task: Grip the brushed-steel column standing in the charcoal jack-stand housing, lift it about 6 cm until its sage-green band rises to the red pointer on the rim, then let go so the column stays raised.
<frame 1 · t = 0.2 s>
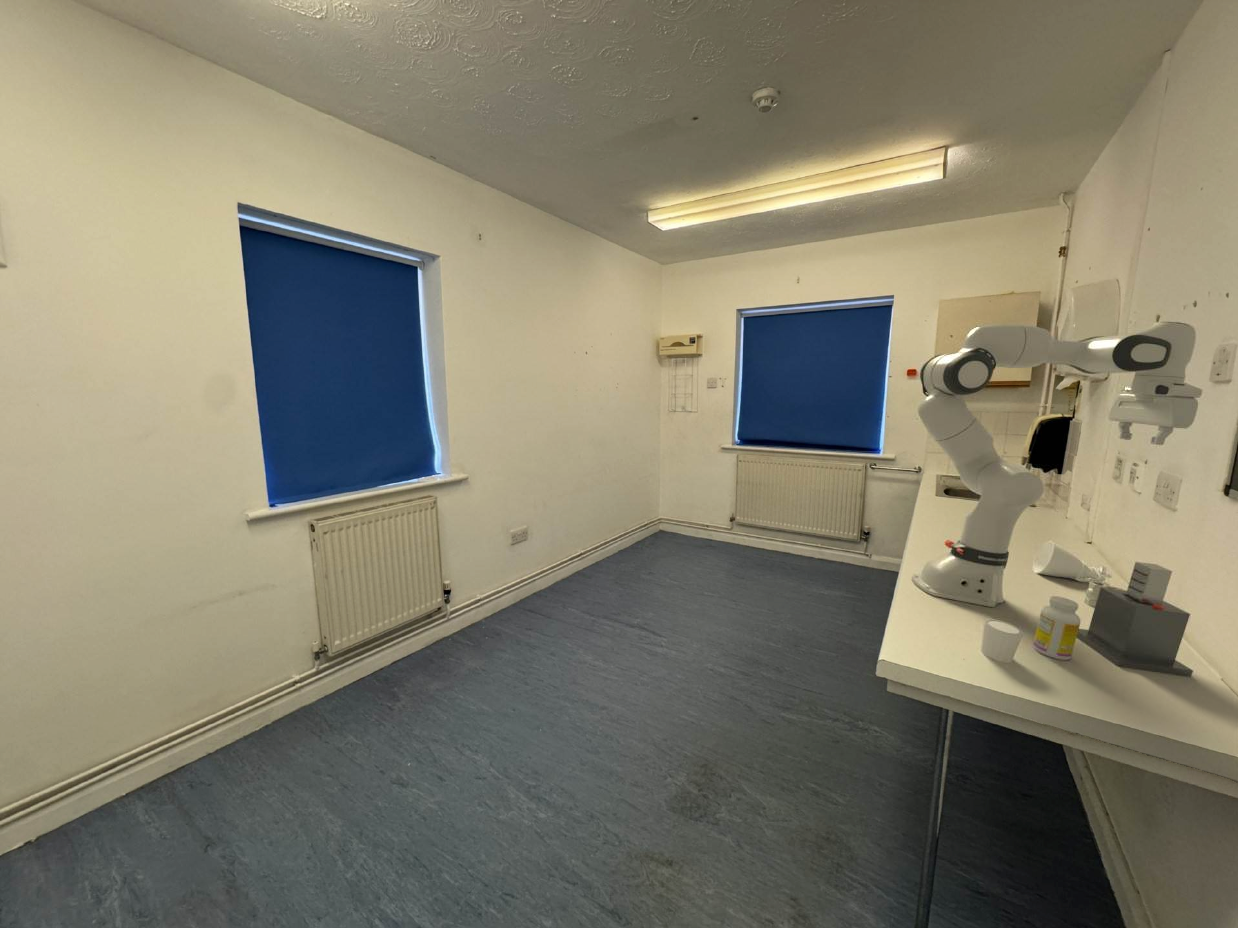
hand: (1140, 441, 126), 47 cm above the counter, fingers open, 8 cm apart
stand housing: (1126, 653, 112), on the counter
column: (1140, 607, 110), point 12 cm above the counter, slide at 0.0 cm
rocket engine: (1070, 581, 156), on the counter
supplement bottle: (1050, 653, 110), on the counter
valve: (1111, 611, 135), on the counter
white cup: (996, 655, 108), on the counter
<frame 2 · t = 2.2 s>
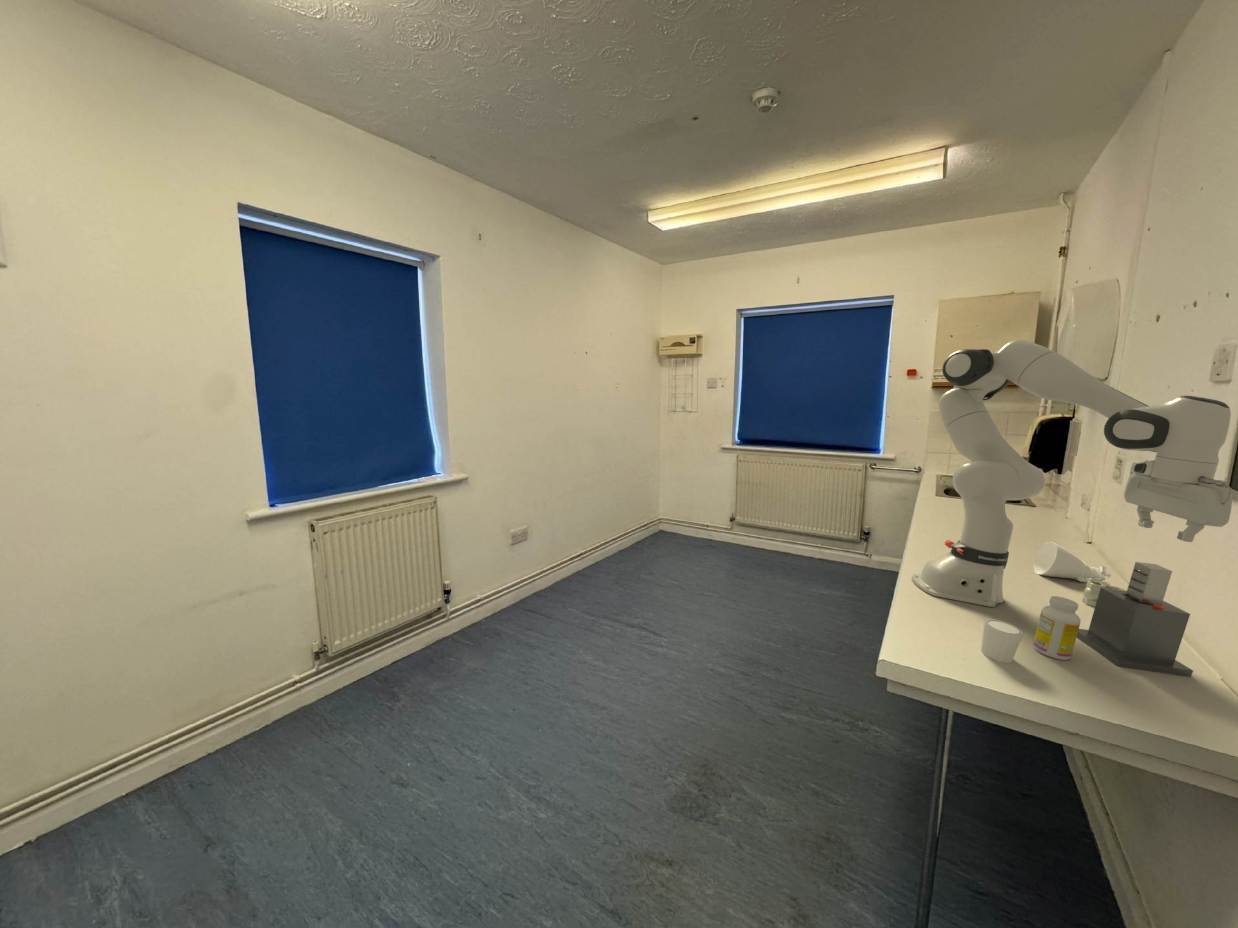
hand: (1163, 533, 107), 29 cm above the counter, fingers open, 8 cm apart
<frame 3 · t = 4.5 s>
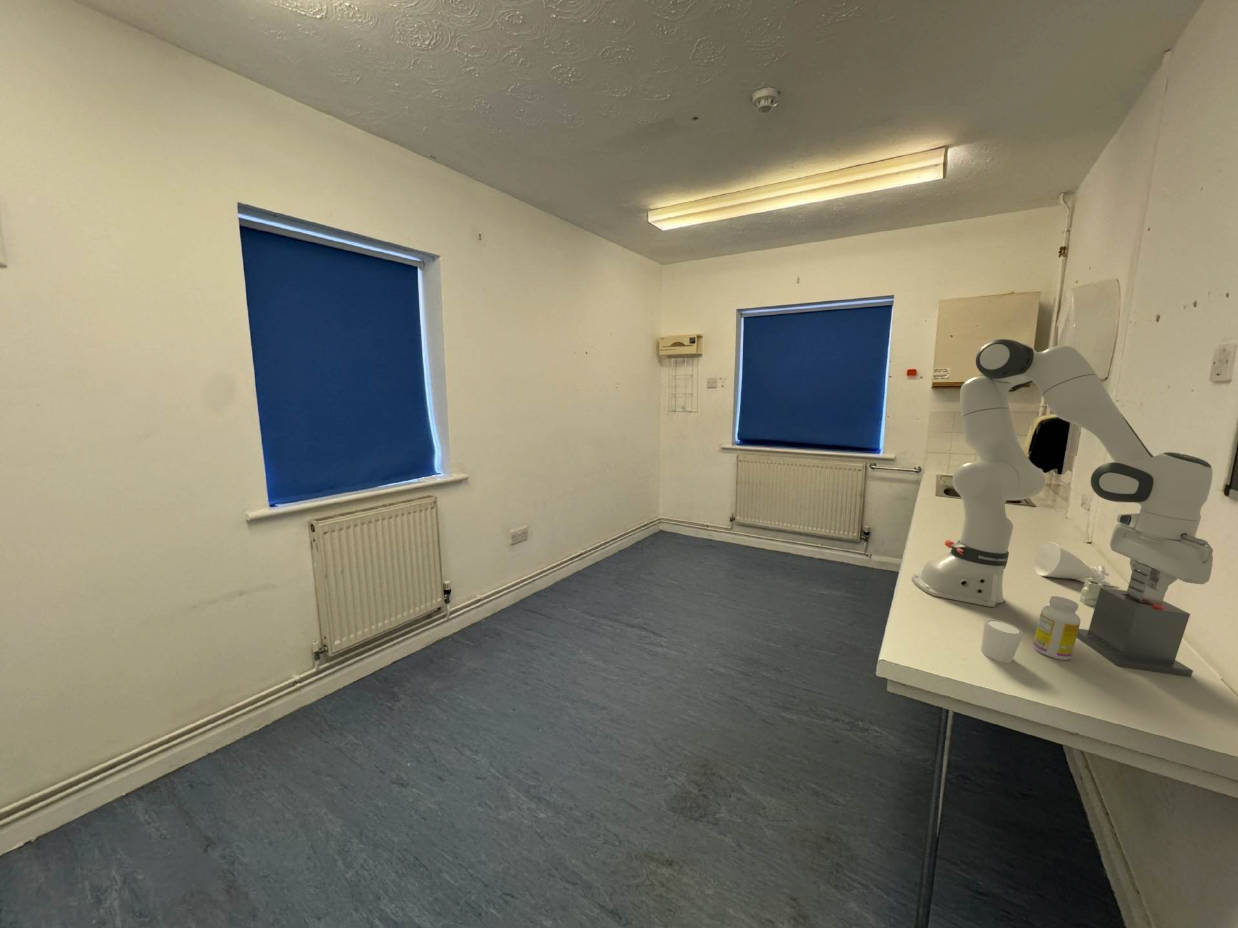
hand: (1147, 585, 109), 17 cm above the counter, fingers closed on column, 4 cm apart
column: (1140, 607, 110), point 12 cm above the counter, slide at 0.0 cm, touching gripper
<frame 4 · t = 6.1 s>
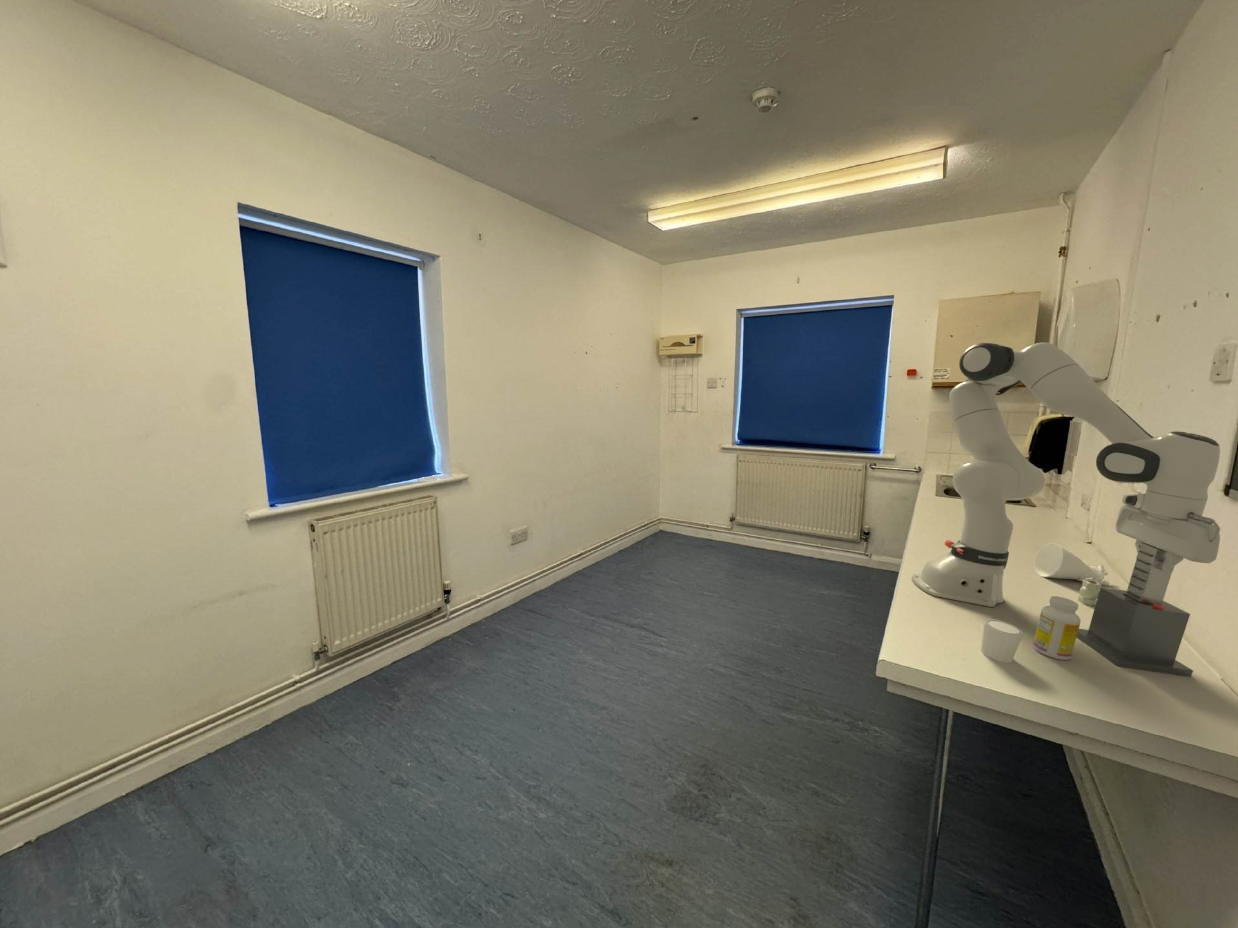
hand: (1153, 566, 108), 22 cm above the counter, fingers closed on column, 4 cm apart
column: (1146, 588, 109), point 16 cm above the counter, slide at 4.6 cm, touching gripper
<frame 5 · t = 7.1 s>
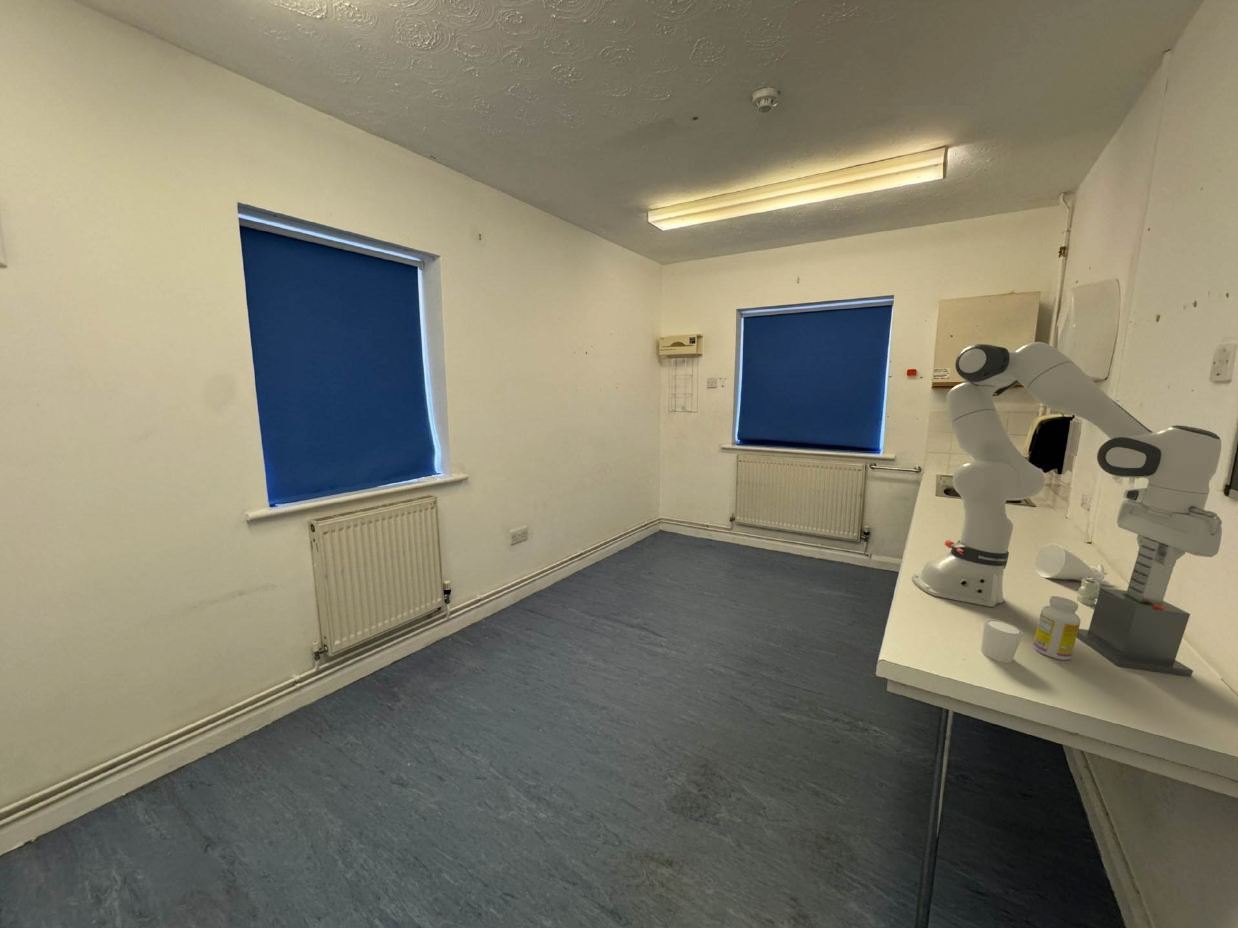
hand: (1155, 560, 108), 23 cm above the counter, fingers closed on column, 4 cm apart
column: (1147, 583, 109), point 18 cm above the counter, slide at 5.9 cm, touching gripper
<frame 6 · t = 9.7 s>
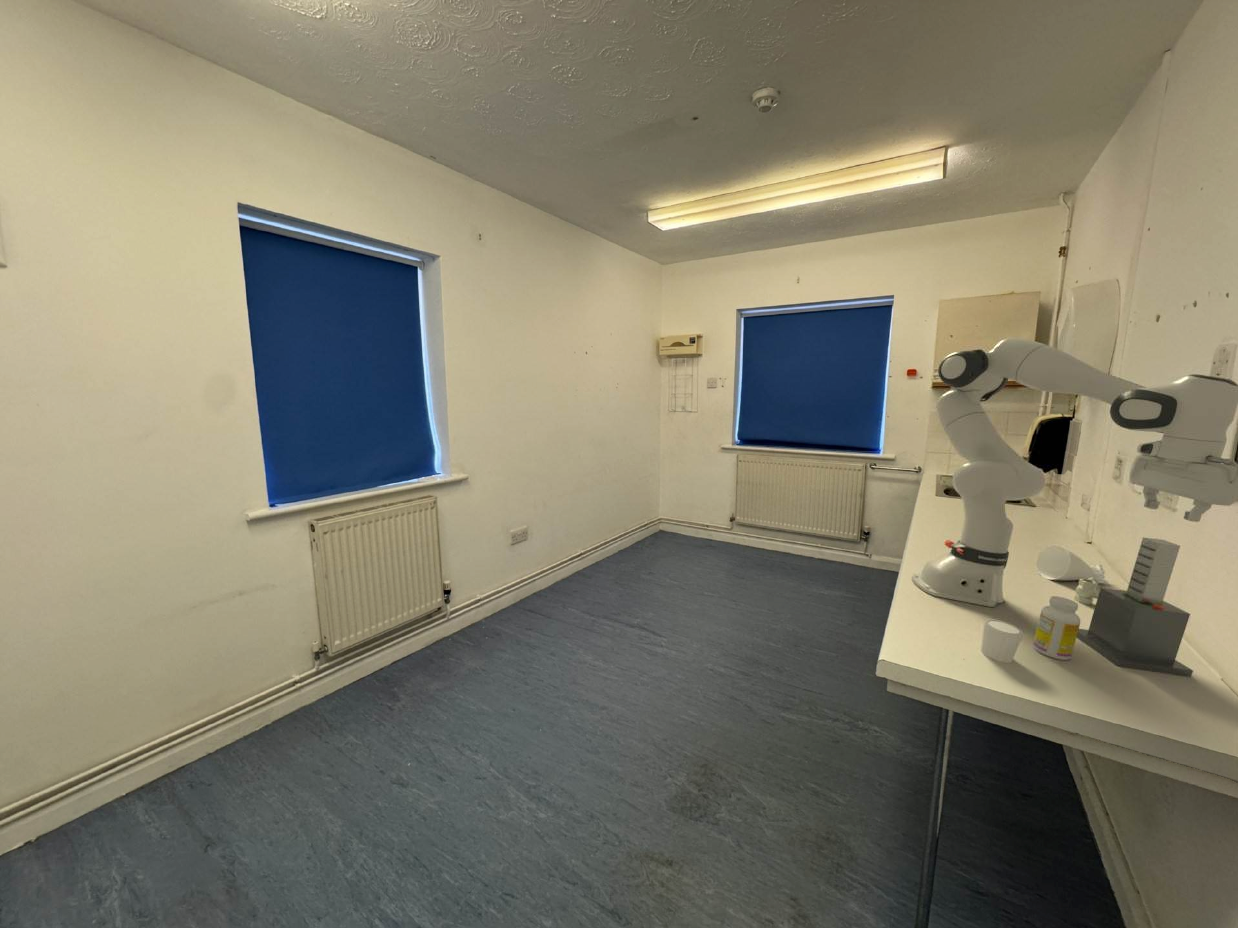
hand: (1169, 514, 106), 34 cm above the counter, fingers open, 8 cm apart
column: (1147, 583, 109), point 18 cm above the counter, slide at 5.9 cm
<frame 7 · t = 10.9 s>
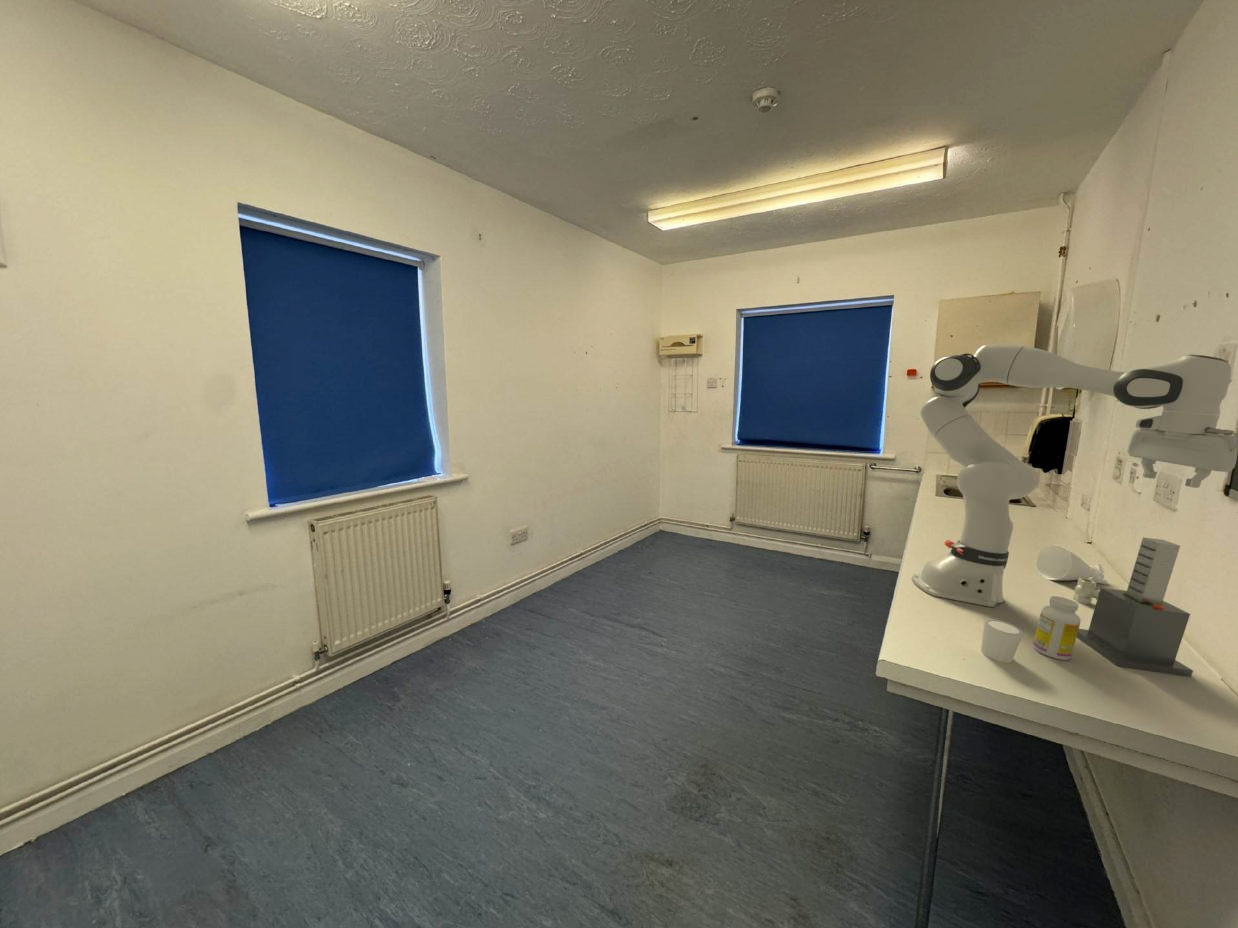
hand: (1169, 482, 117), 39 cm above the counter, fingers open, 8 cm apart
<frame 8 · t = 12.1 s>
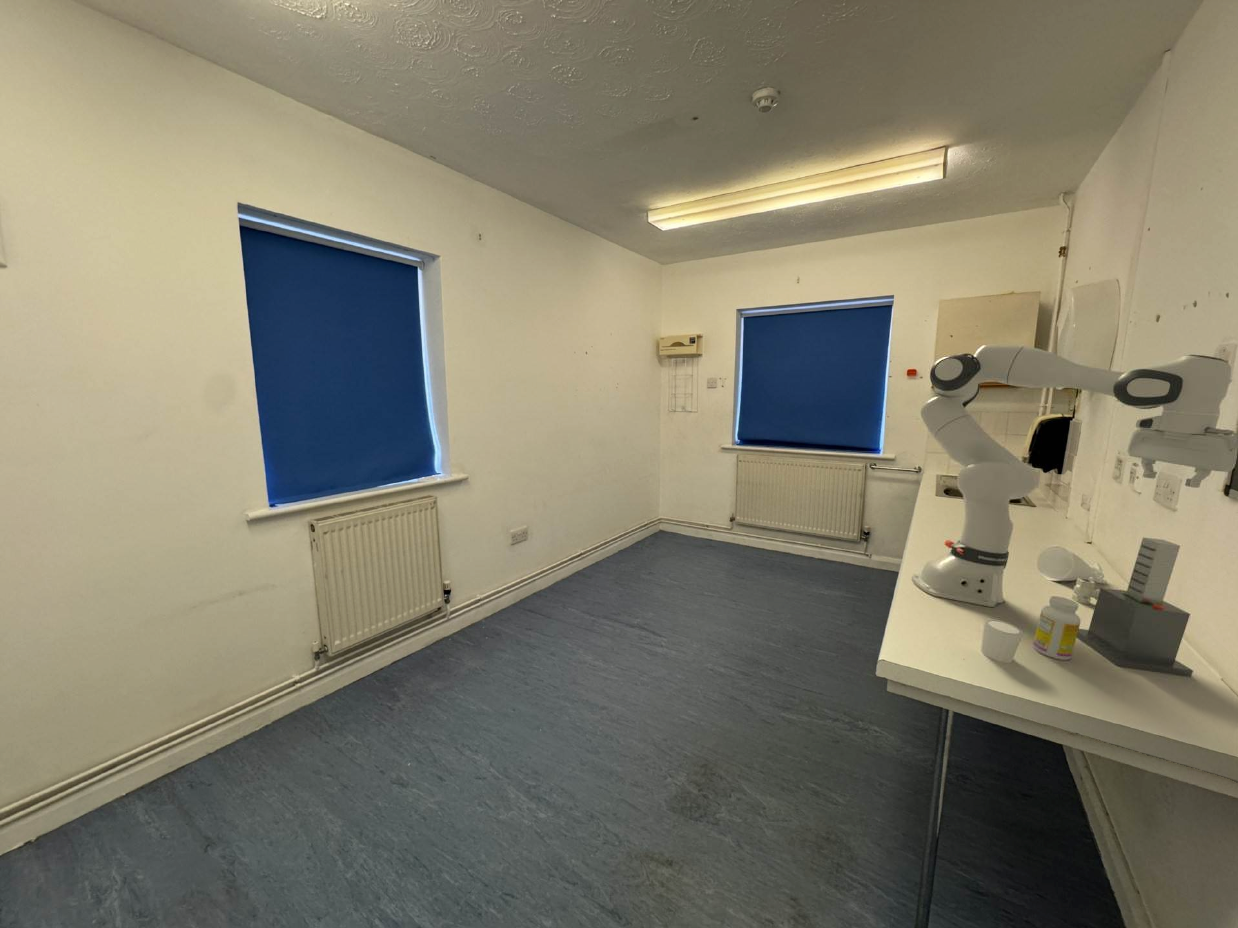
hand: (1169, 482, 117), 39 cm above the counter, fingers open, 8 cm apart
at the end: column slide at 5.9 cm; the gripper is holding nothing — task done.
